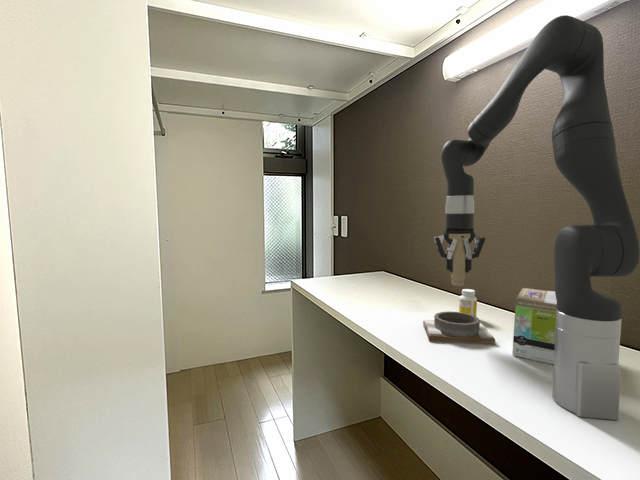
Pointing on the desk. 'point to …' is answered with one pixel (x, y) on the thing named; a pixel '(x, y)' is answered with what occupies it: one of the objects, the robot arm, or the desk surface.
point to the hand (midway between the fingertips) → (458, 271)
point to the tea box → (535, 325)
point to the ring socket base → (457, 329)
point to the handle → (458, 259)
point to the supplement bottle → (468, 302)
